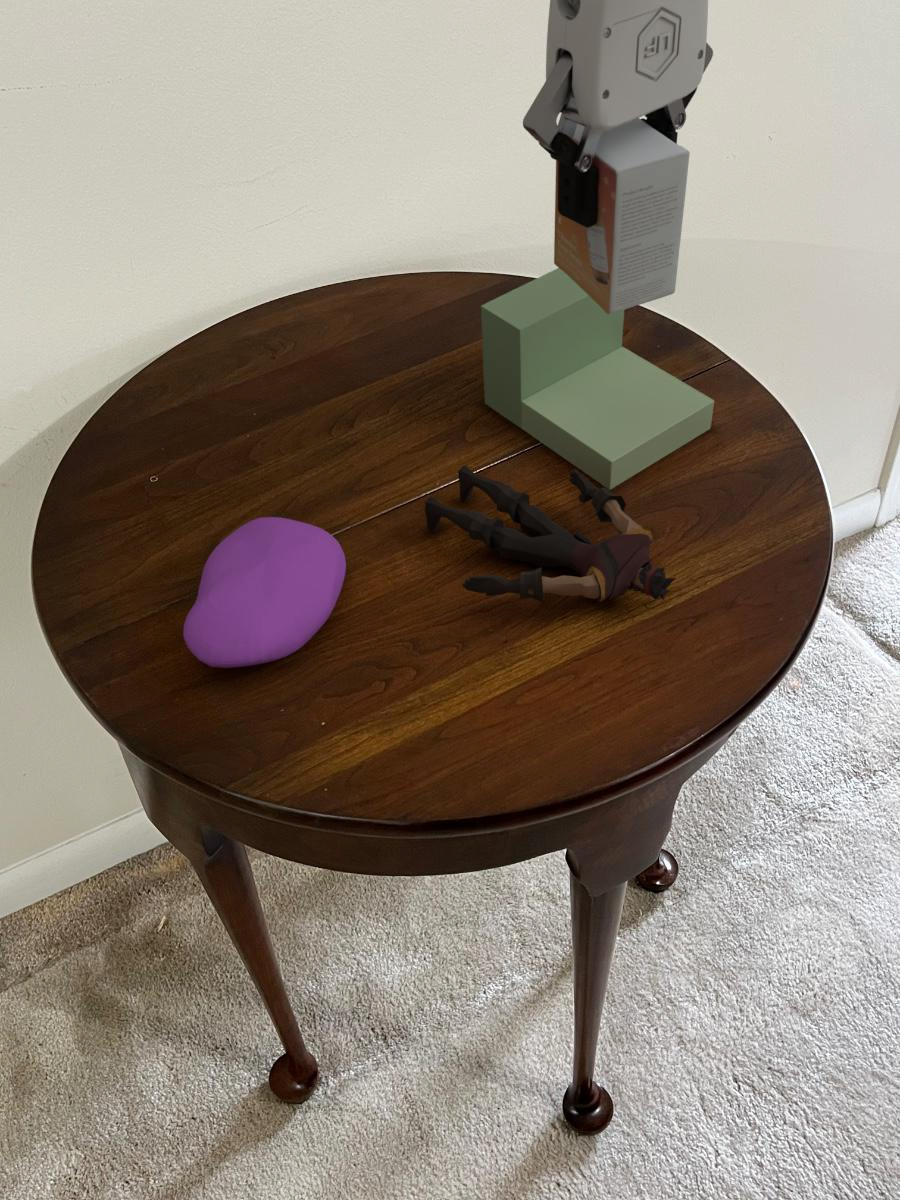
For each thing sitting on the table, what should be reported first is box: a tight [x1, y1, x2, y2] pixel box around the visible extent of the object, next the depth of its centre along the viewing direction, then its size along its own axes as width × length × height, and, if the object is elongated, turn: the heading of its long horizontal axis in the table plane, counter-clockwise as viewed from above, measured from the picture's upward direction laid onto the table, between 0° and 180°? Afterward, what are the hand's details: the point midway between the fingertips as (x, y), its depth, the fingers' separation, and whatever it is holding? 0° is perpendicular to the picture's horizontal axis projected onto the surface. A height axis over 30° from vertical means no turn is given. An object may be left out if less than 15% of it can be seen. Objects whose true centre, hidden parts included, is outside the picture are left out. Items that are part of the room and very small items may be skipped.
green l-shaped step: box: [480, 267, 715, 491], centre depth 95 cm, size 16×12×10 cm
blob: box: [182, 516, 347, 669], centre depth 82 cm, size 14×11×5 cm
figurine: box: [424, 464, 676, 604], centre depth 85 cm, size 15×4×20 cm
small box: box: [553, 117, 691, 315], centre depth 77 cm, size 8×6×10 cm
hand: (615, 198), depth 77 cm, fingers closed on small box, 6 cm apart
